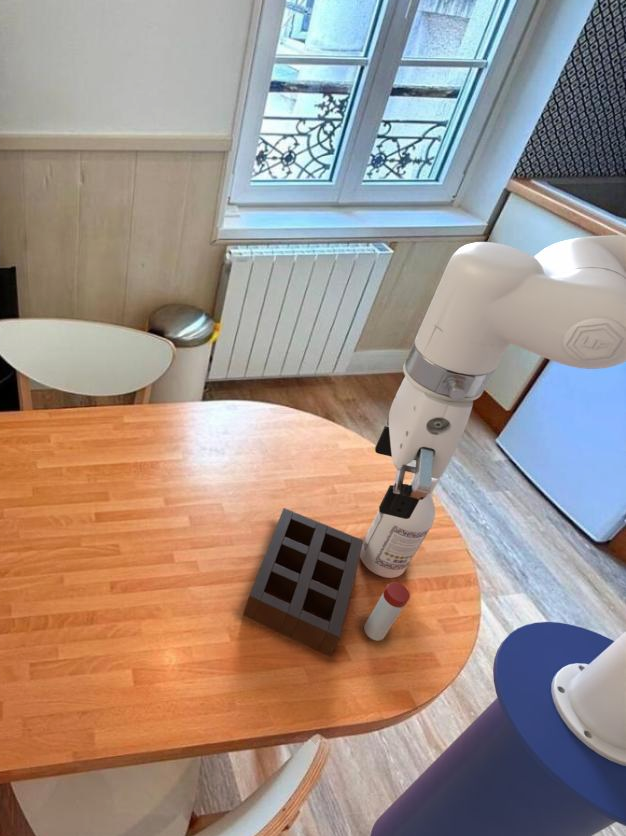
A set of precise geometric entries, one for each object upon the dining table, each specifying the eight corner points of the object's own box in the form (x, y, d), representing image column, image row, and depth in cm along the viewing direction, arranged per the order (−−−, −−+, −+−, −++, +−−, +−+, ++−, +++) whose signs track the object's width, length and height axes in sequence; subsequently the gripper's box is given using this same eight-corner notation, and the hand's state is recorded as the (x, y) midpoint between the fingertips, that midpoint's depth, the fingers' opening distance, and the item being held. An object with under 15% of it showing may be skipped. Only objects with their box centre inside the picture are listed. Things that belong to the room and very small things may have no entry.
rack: (354, 559, 96) (363, 540, 92) (329, 656, 83) (339, 637, 80) (276, 527, 100) (283, 507, 97) (242, 614, 87) (249, 595, 84)
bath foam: (414, 572, 94) (468, 485, 82) (378, 585, 92) (427, 498, 80) (384, 537, 99) (430, 450, 87) (349, 548, 97) (391, 461, 85)
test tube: (386, 627, 87) (411, 588, 80) (383, 644, 85) (408, 605, 78) (365, 618, 88) (388, 578, 81) (361, 635, 86) (385, 595, 79)
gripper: (506, 432, 53) (433, 550, 64) (473, 328, 66) (417, 440, 77) (416, 413, 55) (358, 531, 66) (401, 315, 68) (355, 427, 79)
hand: (390, 482), depth 71 cm, fingers open, 9 cm apart
